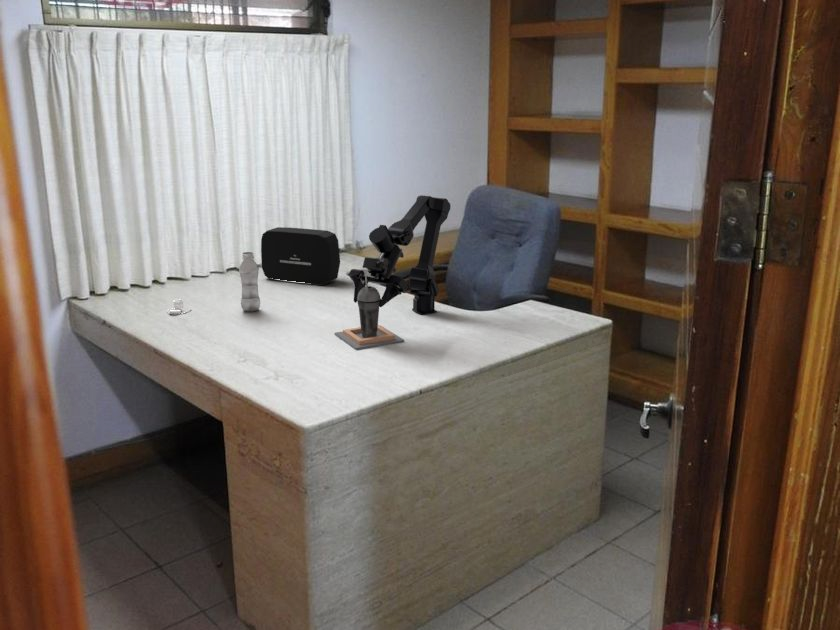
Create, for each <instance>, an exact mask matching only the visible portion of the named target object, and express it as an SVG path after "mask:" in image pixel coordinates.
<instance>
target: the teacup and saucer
mask: <svg viewBox="0 0 840 630" xmlns="http://www.w3.org/2000/svg"><path fill="white" fill-rule="evenodd" d="M183 307H184V300H183V299H179V298H178V299H173V308H174V309H175V310H170V311H169V313H170V315H184V314H183V313H184V312H183V311H184V309H183ZM169 313H168V314H169ZM180 313H181V314H180Z"/></svg>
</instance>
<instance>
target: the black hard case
mask: <svg viewBox="0 0 840 630" xmlns="http://www.w3.org/2000/svg"><path fill="white" fill-rule="evenodd" d="M260 253H261V254H260V256H261V269H262V272H263V275H264V276H265V277H266V278H267V279H268V278H273V279H280V280H287V281H296V282H305V283H311V284H310V285H315V284H319V285H320V286H324V285H327V284H329V283H331V282H333V281H335V280H337V279H338V277H339V271H340V265H341V257H340V256H341V255H340V244H339V239H338V237H337V235H336V233H334V232H331V231H330V230H325V229H324V230H323V229H313V228H312V229H310V228H301V227H300V228H299V227H285V226H284V227H279V226H278V227H274V228H271V229H268V230H266V231H265V232H263V233H262V235H261V239H260ZM273 279H272V280H273Z"/></svg>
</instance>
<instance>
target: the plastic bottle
mask: <svg viewBox="0 0 840 630" xmlns="http://www.w3.org/2000/svg"><path fill="white" fill-rule="evenodd" d="M241 255H242V256H241V257H242V258H241V259H242V261H241V263H240V265H239V268H238V271H239V278H240V284H241V298H240V307H241V309H242V310H243V311H244V312H256V311H258V310H260V308H261V299H260V294H259V287H258V286H259V285H258V283H259V281H258V280H259V269H260V268H259V265H258V264H257V262H256V261H255V260H254V259H255V255H254V252H252V251H246V252H242V254H241Z"/></svg>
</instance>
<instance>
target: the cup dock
mask: <svg viewBox="0 0 840 630" xmlns="http://www.w3.org/2000/svg"><path fill="white" fill-rule="evenodd" d="M334 335H335V336H336V337H337V338H339V339H340V340H342V341H343V342H344V343H345V344H347V345H349V346H350V348H353V349H354V350H356V351H357V350H364V349H369V348H375V347H382V346H387V345H392V344H394V345H395V344H399V343H404V342H405V339H404V338H402V337H401V336H399V335H397V334H395V333H394V332H392V331H391V330H389V329H387V328H385V326H382V325H379V324H378V328H377V336H376V337H370V338H364V337H362V332H361V326H359V327H353V328H352V327H351V328H347V329H343V330H342V331H336V332H334Z"/></svg>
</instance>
